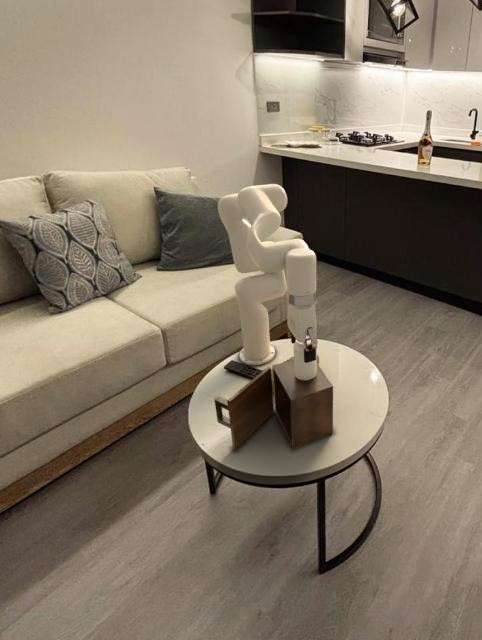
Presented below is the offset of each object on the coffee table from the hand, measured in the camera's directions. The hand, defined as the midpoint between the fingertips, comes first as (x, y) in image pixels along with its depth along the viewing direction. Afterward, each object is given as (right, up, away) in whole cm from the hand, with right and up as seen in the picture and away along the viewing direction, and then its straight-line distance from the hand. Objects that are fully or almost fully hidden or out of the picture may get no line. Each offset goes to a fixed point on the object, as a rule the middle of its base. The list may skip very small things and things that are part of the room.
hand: (303, 351), depth 111 cm
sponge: (-8, -16, +28) cm, 33 cm away
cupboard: (-2, -23, +10) cm, 25 cm away
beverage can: (0, -8, +4) cm, 9 cm away
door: (-18, -23, +8) cm, 31 cm away
